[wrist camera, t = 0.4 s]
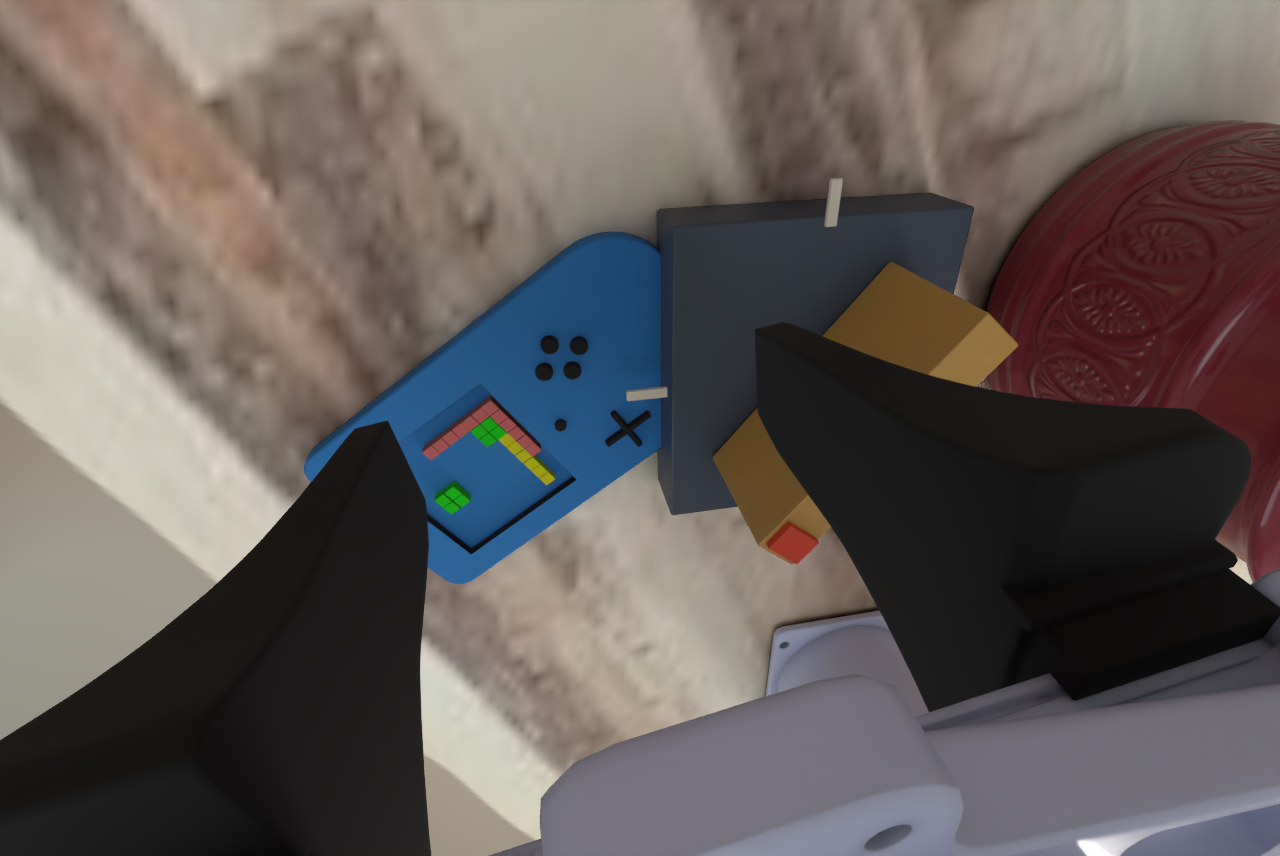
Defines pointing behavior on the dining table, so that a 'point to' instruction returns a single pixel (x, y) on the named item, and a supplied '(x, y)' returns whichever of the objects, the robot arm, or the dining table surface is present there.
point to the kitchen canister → (1162, 297)
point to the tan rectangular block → (886, 329)
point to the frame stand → (769, 304)
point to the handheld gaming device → (529, 403)
